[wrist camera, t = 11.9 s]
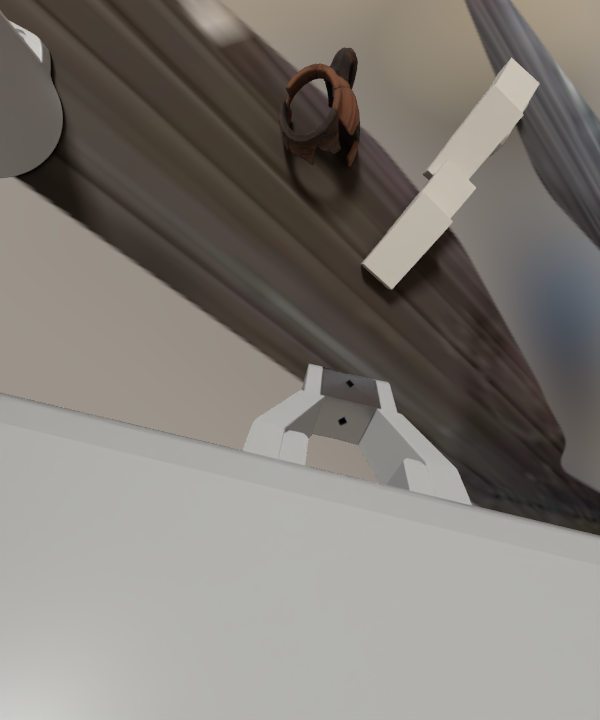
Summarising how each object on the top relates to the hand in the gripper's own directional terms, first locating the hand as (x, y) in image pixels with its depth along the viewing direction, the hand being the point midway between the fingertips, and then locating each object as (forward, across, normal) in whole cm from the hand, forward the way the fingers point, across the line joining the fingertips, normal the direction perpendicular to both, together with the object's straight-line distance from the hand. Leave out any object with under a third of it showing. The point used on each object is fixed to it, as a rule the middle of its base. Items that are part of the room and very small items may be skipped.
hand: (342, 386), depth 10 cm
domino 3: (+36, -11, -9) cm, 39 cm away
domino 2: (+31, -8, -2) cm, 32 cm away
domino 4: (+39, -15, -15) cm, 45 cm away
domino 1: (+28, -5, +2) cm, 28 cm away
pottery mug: (+36, +6, -11) cm, 38 cm away
